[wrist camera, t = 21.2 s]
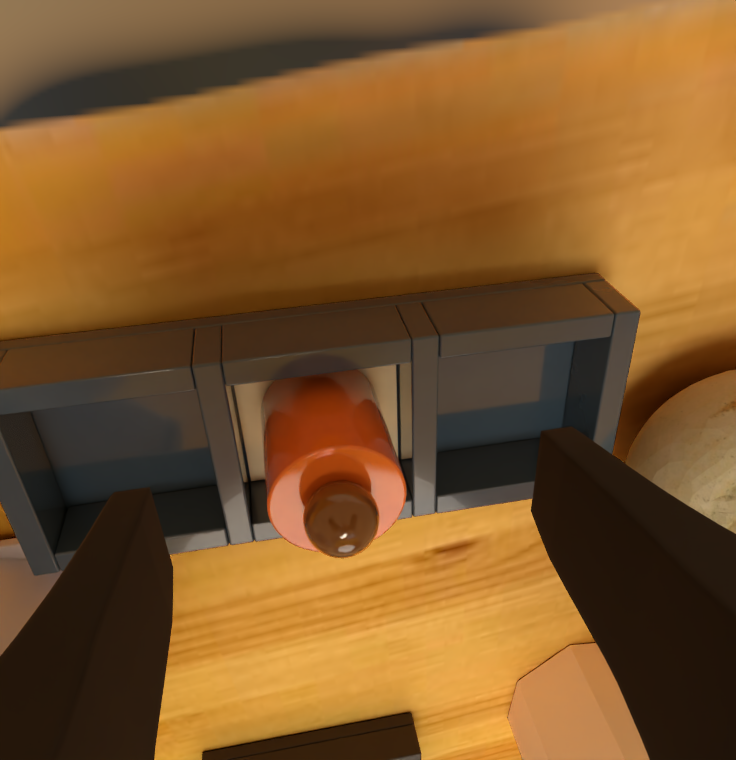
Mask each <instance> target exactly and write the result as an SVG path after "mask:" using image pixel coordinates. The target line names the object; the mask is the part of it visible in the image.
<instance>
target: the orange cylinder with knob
mask: <svg viewBox="0 0 736 760" xmlns="http://www.w3.org/2000/svg"><path fill="white" fill-rule="evenodd" d="M260 418H261V432H262V446H263V460H264V475H265V489H266V503H267V512H268V516H269V519H270V522H271V524H272V525H273V527H274V528H275V530H276V531H277V532H278V533H279V534H280V535H281V536H282V537H283V538H284V539H285V540H287V541H288V542H290V543H292V544H294V545H296V546H298V547H300V548H303V549H307V550H311V551H317V552H321V553H323V554H325V555H327V556H330V557H334V558H348V557H352V556H355V555H357V554H359V553H361V552H362V551H364V550H365V549H366V548H367V547H368V546H369V545H370V544H371V543H372V541H373V540H375V539H376V538H378V537H379V536H381V535H382V534H384V533H385V532H386V531H387V530H388V529H389V528H390V527H391V526H392V525H393V524H394V523H395V522H396V520H397V519H398V517H399V516H400V514H401V512H402V510H403V507H404V504H405V501H406V494H407V488H406V482H405V478H404V475H403V472H402V469H401V466H400V463H399V460H398V457H397V454H396V451H395V448H394V445H393V442H392V439H391V436H390V433H389V430H388V427H387V424H386V421H385V418H384V415H383V412H382V409H381V406H380V403H379V400H378V397H377V394H376V391H375V389H374V387H373V385H372V383H371V382H370V381H369V379H368V378H367V377H366V376H365V375H364V374H363V373H361V372H360V371H358V370H350V371H342V372H335V373H327V374H319V375H311V376H303V377H295V378H288V379H280V380H275V381H274V382H273V383H272V384H271V385H270V387H269V388H268V390H267V391H266V393H265V395H264V397H263V400H262V403H261V409H260Z"/></svg>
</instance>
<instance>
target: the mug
mask: <svg viewBox="0 0 736 760" xmlns="http://www.w3.org/2000/svg"><path fill="white" fill-rule="evenodd" d="M508 721H509V723H510V726H511V729H512V732H513V734H514V737H515V740H516V743H517V746H518V748H519V751H520V754H521V757H522V759H523V760H650V759H649V757H648V754H647V752H646V749H645V747H644V744H643V742H642V739H641V737H640V735H639V732H638V730H637V728H636V725H635V723H634V721H633V718H632V716H631V714H630V711H629V709H628V707H627V704H626V702H625V700H624V697H623V695H622V693H621V691H620V688H619V686H618V684H617V682H616V680H615V678H614V676H613V674H612V672H611V670H610V668H609V666H608V664H607V662H606V660H605V658H604V656H603V654H602V653H601V651H600V649H599V647H598V645H597V644H596V643H590V644H579V645H569V646H568V647H566V648H565V649H564V650H562V651H561V652H559V653H558V654H556V655H555V656H553V657H552V658H551V659H549V660H548V661H546V662H545V663H543V664H542V665H540V666H539V667H538V668H536V669H535V670H533V671H532V672H530V673H529V674H527V675H526V676H525V677H523V678H522V679H520V680H519V681H518V682H517V685H516V689H515V693H514V696H513V700H512V703H511V707H510V711H509V714H508Z"/></svg>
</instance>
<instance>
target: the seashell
mask: <svg viewBox="0 0 736 760" xmlns="http://www.w3.org/2000/svg"><path fill="white" fill-rule="evenodd" d="M625 464H626V465H628V466H629V467H631V468H632V469H634V470H635V471H636V472H638V473H639V474H641V475H642V476H644V477H645V478H647V479H648V480H650V481H651V482H653V483H654V484H656V485H657V486H658V487H660V488H662V489H663V490H665V491H666V492H668V493H669V494H671V495H672V496H674V497H675V498H677V499H678V500H680V501H682V502H683V503H685V504H686V505H688V506H690V507H691V508H693V509H695V510H696V511H698V512H700V513H701V514H703V515H704V516H706V517H708V518H709V519H711V520H713V521H714V522H716V523H718V524H719V525H721V526H723V527H725V528H726V529H728V530H730V531H732V532H734V533H735V534H736V369H735V370H729V371H726V372H723V373H720V374H717V375H714V376H710V377H708V378H705V379H703V380H701V381H699V382H697V383H694V384H692V385H690V386H689V387H687V388H685V389H684V390H682V391H681V392H679V393H677V394H676V395H674V396H673V397H671V398H670V399H668V400H667V401H666V402H665V403H664V404H663V405H662V406H661V407H659V408H658V409H657V410H656V411H655V412H654V414H653V415H652V416H651V417H650V418H649V419H648V420H647V422H646V423H645V424H644V425H643V427H642V429H641V430H640V432H639V433H638V435H637V436H636V438H635V440H634V441H633V443H632V445H631V447H630V449H629V452H628V455H627V459H626V462H625Z"/></svg>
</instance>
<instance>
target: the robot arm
mask: <svg viewBox="0 0 736 760" xmlns="http://www.w3.org/2000/svg"><path fill="white" fill-rule="evenodd" d="M531 512H532V515H533V517H534V520H535V523H536V525H537V528H538V531H539V533H540V536H541V538H542V541H543V543H544V546H545V548H546V551H547V553H548V556H549V558H550V560H551V562H552V564H553V566H554V567H555V569H556V571H557V573H558V575H559V577H560V579H561V580H562V582H563V584H564V586H565V588H566V590H567V591H568V593H569V595H570V597H571V599H572V600H573V602H574V604H575V606H576V608H577V609H578V611H579V613H580V615H581V617H582V618H583V620H584V622H585V624H586V626H587V627H588V629H589V631H590V633H591V635H592V636H593V638H594V640H595V642H596V644H597V645H598V647H599V649H600V651H601V653H602V654H603V656H604V658H605V660H606V662H607V664H608V666H609V668H610V670H611V672H612V674H613V676H614V678H615V680H616V682H617V684H618V686H619V688H620V691H621V693H622V695H623V697H624V700H625V702H626V704H627V707H628V709H629V711H630V714H631V716H632V718H633V721H634V723H635V725H636V728H637V730H638V732H639V735H640V737H641V739H642V742H643V744H644V747H645V749H646V752H647V754H648V757H649V759H650V760H736V534H735V533H734V532H732V531H730V530H728V529H726V528H725V527H723V526H721V525H719V524H718V523H716V522H714V521H713V520H711V519H709V518H708V517H706V516H704V515H703V514H701V513H700V512H698V511H696V510H695V509H693V508H691V507H690V506H688V505H686V504H685V503H683V502H682V501H680V500H678V499H677V498H675V497H674V496H672V495H671V494H669V493H668V492H666V491H665V490H663V489H662V488H660V487H658V486H657V485H656V484H654V483H653V482H651V481H650V480H648V479H647V478H645V477H644V476H642V475H641V474H639V473H638V472H636V471H635V470H634V469H632V468H631V467H629V466H628V465H626V464H625V463H624V462H622V461H621V460H619V459H618V458H616V457H615V456H614V455H612V454H611V453H609V452H608V451H607V450H605V449H604V448H602V447H601V446H600V445H598V444H597V443H595V442H594V441H592V440H591V439H590V438H588V437H587V436H585V435H584V434H582V433H581V432H579V431H578V430H576V429H575V428H573V427H572V426H571V427H564V428H558V429H551V430H544V431H541V434H540V442H539V450H538V459H537V467H536V475H535V483H534V491H533V499H532V507H531ZM172 612H173V566H172V562H171V559H170V555H169V552H168V548H167V545H166V541H165V538H164V534H163V531H162V527H161V524H160V520H159V517H158V514H157V510H156V507H155V503H154V500H153V496H152V493H151V489H150V487H146V488H140V489H133V490H126V491H119V492H114V493H113V494H112V495H111V497H110V498H109V499H108V501H107V503H106V504H105V506H104V507H103V509H102V511H101V512H100V514H99V516H98V517H97V519H96V521H95V522H94V524H93V526H92V527H91V529H90V531H89V532H88V534H87V535H86V537H85V539H84V540H83V542H82V543H81V545H80V546H79V548H78V550H77V551H76V553H75V554H74V556H73V557H72V559H71V560H70V562H69V563H68V565H67V566H66V568H65V569H64V571H61V570H60V572H58V573H52V574H45V575H39V576H34V575H33V573H32V570H31V568H30V566H29V564H28V562H27V559H26V557H25V555H24V553H23V551H22V548H21V546H20V544H19V542H18V540H17V538H13V539H6V540H0V760H154V755H155V745H156V737H157V730H158V723H159V716H160V709H161V701H162V694H163V687H164V680H165V673H166V665H167V658H168V651H169V643H170V636H171V628H172Z"/></svg>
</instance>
